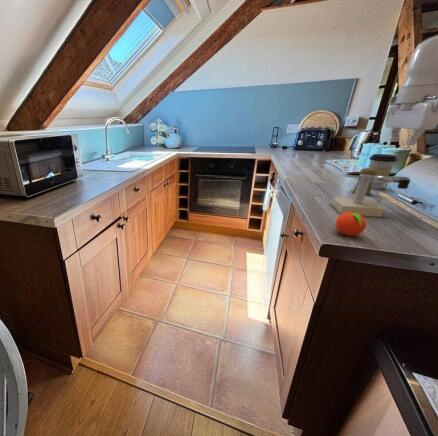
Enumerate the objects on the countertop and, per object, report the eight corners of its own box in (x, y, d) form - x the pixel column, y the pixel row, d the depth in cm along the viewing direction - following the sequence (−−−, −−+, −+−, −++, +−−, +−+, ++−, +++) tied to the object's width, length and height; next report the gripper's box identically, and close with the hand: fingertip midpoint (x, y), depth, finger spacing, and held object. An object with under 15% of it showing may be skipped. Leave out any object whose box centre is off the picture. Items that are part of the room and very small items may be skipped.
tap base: (368, 207, 92) (378, 178, 88) (381, 217, 83) (393, 186, 79) (331, 204, 96) (338, 177, 91) (340, 213, 87) (349, 183, 83)
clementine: (369, 242, 68) (378, 219, 65) (341, 240, 69) (348, 217, 66) (353, 230, 75) (360, 208, 72) (328, 228, 76) (334, 207, 73)
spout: (403, 186, 84) (407, 176, 82) (409, 189, 81) (414, 178, 79) (354, 184, 88) (357, 174, 87) (358, 186, 85) (362, 176, 83)
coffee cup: (386, 191, 109) (398, 157, 103) (359, 187, 115) (369, 155, 109) (386, 187, 116) (398, 154, 110) (361, 183, 122) (371, 153, 116)
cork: (368, 192, 109) (377, 167, 104) (371, 196, 104) (380, 170, 100) (351, 190, 112) (359, 166, 107) (353, 194, 107) (361, 169, 103)
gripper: (457, 93, 65) (436, 146, 71) (410, 98, 83) (396, 140, 88) (427, 95, 67) (408, 146, 73) (387, 99, 85) (374, 140, 90)
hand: (401, 143), depth 81 cm, fingers open, 8 cm apart
